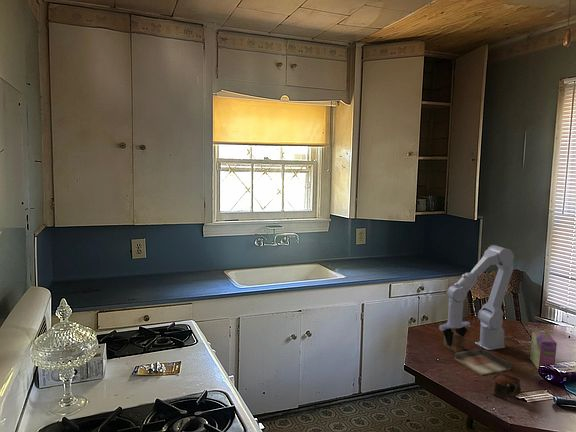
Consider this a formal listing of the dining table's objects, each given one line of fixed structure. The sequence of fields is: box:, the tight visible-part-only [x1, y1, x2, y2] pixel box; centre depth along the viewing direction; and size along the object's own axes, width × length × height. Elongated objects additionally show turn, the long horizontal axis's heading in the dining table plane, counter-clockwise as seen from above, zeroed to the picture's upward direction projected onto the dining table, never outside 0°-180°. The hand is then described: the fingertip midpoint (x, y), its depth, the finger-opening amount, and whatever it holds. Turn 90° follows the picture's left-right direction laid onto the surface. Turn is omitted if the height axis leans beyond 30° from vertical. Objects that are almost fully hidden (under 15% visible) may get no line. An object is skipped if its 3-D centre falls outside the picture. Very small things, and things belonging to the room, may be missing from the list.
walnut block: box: [442, 330, 466, 354], centre depth 195 cm, size 4×8×6 cm, turn 19°
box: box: [529, 331, 558, 370], centre depth 178 cm, size 10×6×12 cm, turn 168°
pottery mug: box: [490, 371, 522, 400], centre depth 156 cm, size 12×10×8 cm
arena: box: [453, 347, 511, 376], centre depth 180 cm, size 14×15×3 cm
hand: (453, 344), depth 195 cm, fingers closed on walnut block, 4 cm apart
